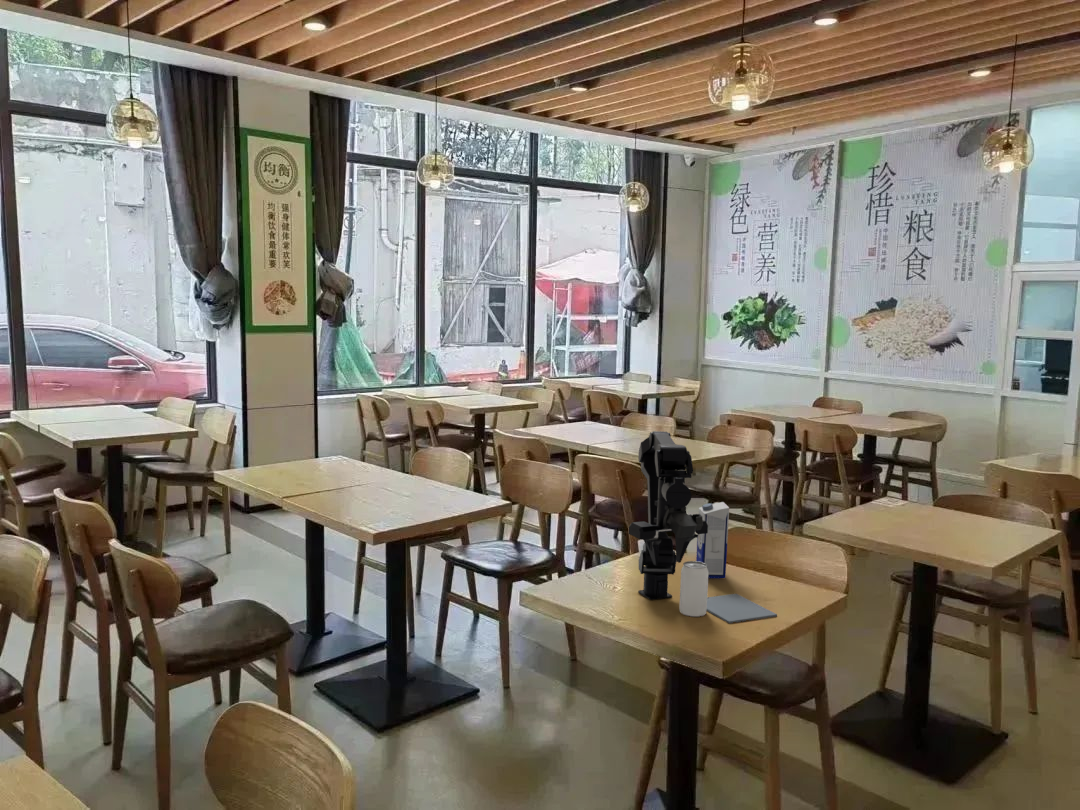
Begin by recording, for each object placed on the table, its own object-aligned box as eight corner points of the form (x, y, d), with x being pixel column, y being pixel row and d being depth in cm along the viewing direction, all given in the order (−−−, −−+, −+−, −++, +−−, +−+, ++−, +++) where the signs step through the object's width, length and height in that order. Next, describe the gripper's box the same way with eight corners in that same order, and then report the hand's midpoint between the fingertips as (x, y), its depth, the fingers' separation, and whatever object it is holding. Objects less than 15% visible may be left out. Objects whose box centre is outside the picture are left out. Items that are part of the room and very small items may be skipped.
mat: (690, 601, 217) (690, 599, 217) (736, 595, 223) (736, 593, 223) (729, 623, 203) (729, 621, 203) (776, 616, 208) (777, 614, 208)
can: (679, 607, 213) (682, 559, 212) (706, 609, 212) (709, 561, 210) (678, 616, 207) (680, 567, 205) (706, 618, 205) (708, 569, 204)
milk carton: (725, 578, 237) (729, 506, 234) (701, 578, 236) (704, 506, 234) (719, 570, 244) (723, 501, 241) (695, 570, 243) (699, 500, 241)
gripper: (654, 509, 191) (651, 577, 193) (723, 503, 199) (720, 569, 201) (628, 498, 202) (626, 563, 203) (696, 493, 209) (692, 556, 211)
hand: (667, 563), depth 204 cm, fingers open, 6 cm apart
